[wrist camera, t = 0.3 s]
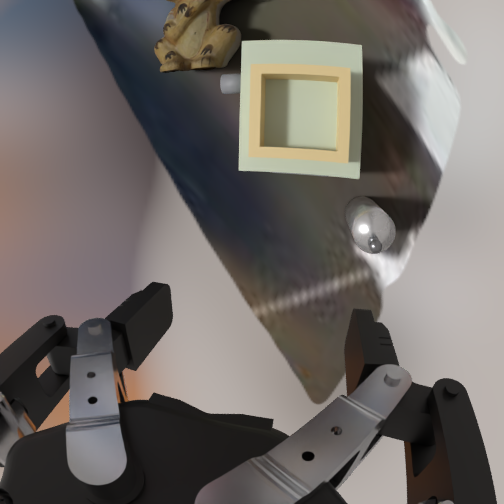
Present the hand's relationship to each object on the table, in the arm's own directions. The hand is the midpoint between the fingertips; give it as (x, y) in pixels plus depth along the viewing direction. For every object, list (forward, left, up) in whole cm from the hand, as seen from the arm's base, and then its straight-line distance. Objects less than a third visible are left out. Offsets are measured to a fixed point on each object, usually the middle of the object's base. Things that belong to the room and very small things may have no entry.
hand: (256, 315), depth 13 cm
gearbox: (-11, -1, -27) cm, 29 cm away
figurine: (-26, -11, -27) cm, 39 cm away
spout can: (+1, +9, -27) cm, 28 cm away
